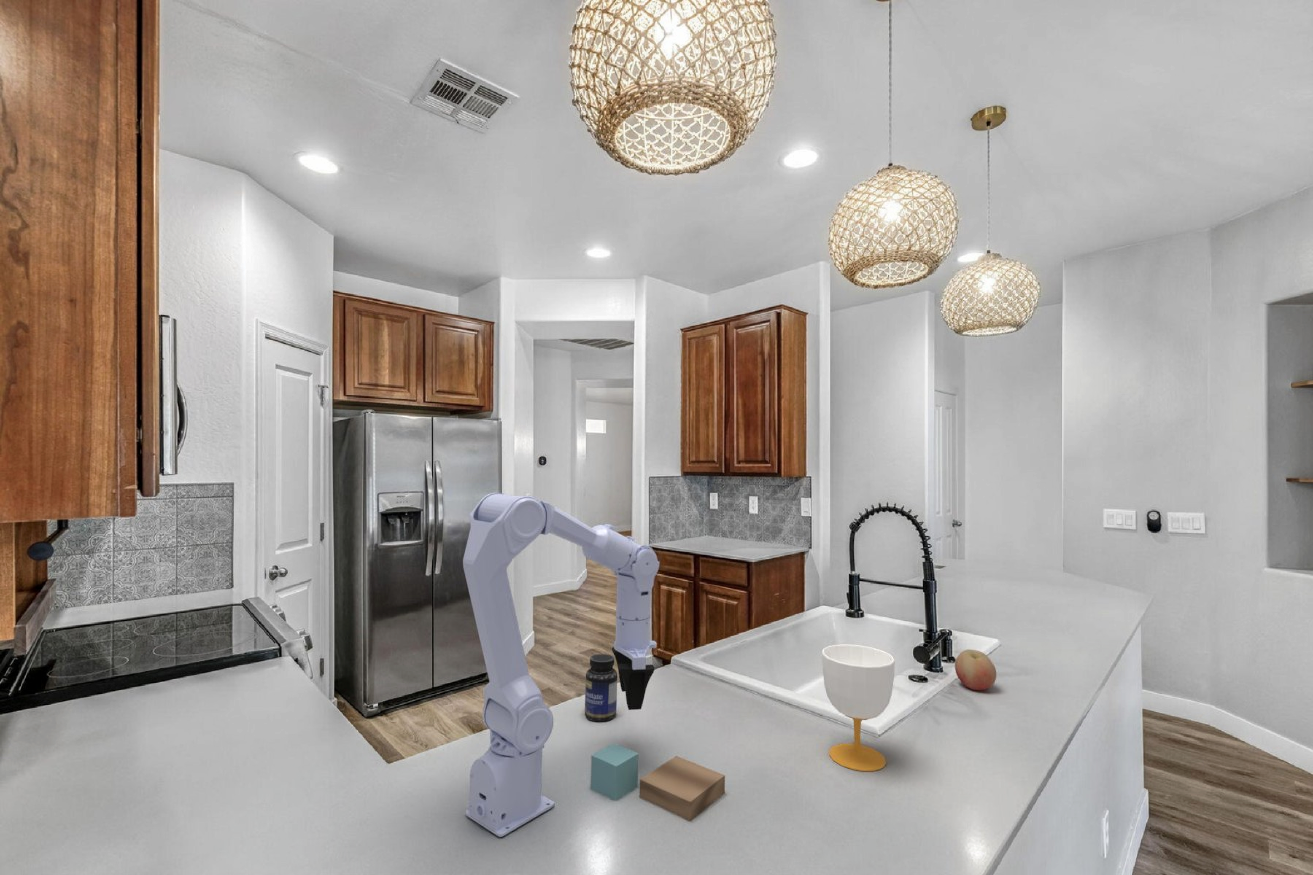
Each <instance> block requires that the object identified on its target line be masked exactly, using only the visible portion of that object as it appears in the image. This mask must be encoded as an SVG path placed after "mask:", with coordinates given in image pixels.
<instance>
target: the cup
mask: <svg viewBox="0 0 1313 875" xmlns="http://www.w3.org/2000/svg"><path fill="white" fill-rule="evenodd" d="M821 653H822V654H821V655H822V656H821V659H822V660H821V662H822V664H821V665H822V675H823V684H824V689H825V692H826V693H825V694H826V696H827V698H828V700H829V701H830V703H831V706H832V707H833V708H834V709H835V710H837V711H838V712H839V713H840V714H841V715H843V716H845V717H847V718H849V719H852V721H853V730H854V734H853V743H840V744H836V745H833V746H832V747H831V748H830V749H829V757H830V758H831V759H832V760H833V762H835V763H836V764H838V765H839V766H841V767H843V768H846V769H849V770H853V771H859V772H876V771H878V770H882V769H883V768H884V767H885V766H886V765H887V762H886V761H887V760H886V757H885V756H884V755H883V754H881V753H880V752H879V751H878V750H876V749H874V748H872V747H869V746H866V745H862V744H861V727H862V721H868V720H872V719H875V718H878V717H879V716H880V715H881V714H882V713H884V711H885V710H886V709H887V707H888V706H889V704H890V702H891V698H892V695H893V687H894V683H895V682H894V680H895V668H896V667H895V664H896V663H895V662H896V661H895V658H894V657H893V655H891V654H890V653H889V652H887V651H884V650H881V649H878V648H875V647H871V646H866V645H859V644H845V643H844V644H833V645H828V646H826V647H824V648H822V652H821Z"/></svg>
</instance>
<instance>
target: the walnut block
mask: <svg viewBox="0 0 1313 875" xmlns="http://www.w3.org/2000/svg"><path fill="white" fill-rule="evenodd" d="M725 787H726V776H725V774H723V773H721V772H719V771H718V772H717V771H715V770H712V769H711V768H708V767H705V766H703V765H700V764H697V763H695V762H693V761H690V760H687V759H685V758H683V757H680V756H677V755H675V756H674V757H672V758H670V759H669V760H667V761H666V762H665V763H663V764H661V765H660V766H658V767H656V768H655V769H654V770H652V771H650V772H649V773H647V774H645V775H644V776H643V777H641V778H640V779H639V796H638V798H639V799H642V800H644V801H647V802H649V803H651V804H653V805H655V806H657V807H658V808H661V809H663V810H665V811H667V812H669V813H671V814H674V815H675V816H677V817H680V818H682V819H685V820H687V821H689V822H691V821H693V820H694V819H695V818H697V817H698V816H699V815H700V814H701V813H702V812H703V811H705V810H707V808H708V807H709V806H711V805H713V804H714V803H715V802H716V801H717V800H718V799H719V798H721V797H722V796H724V794H725V792H726V791H725V789H726V788H725Z"/></svg>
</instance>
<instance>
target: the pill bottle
mask: <svg viewBox="0 0 1313 875" xmlns="http://www.w3.org/2000/svg"><path fill="white" fill-rule="evenodd" d="M614 666H615V656H613V655H611V654H608V653H600V654H599V653H598V654H594V655H592V656H590V658H589V667H590V668H589V669H588V670H586V673H585V686H584V687H585V689H584V690H585V693H584V695H585V696H584V716H585V718H587V720H590V721H592V722H593V721H594V722H608V721H610V720H612V719H614V718H615V717H616V716H617V701H618V672H617V671H618V670H616V669H615V668H614Z"/></svg>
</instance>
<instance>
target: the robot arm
mask: <svg viewBox="0 0 1313 875" xmlns="http://www.w3.org/2000/svg"><path fill="white" fill-rule="evenodd" d="M468 517H469V518H468V519H469V524H470V529H469V534H468V537H467V542H466V545H465V551H464V555H463V558H462V566H463V572H464V576H465V580H466V581H465V582H466V584H467V588H468V593H469V597H470V601H471V606H472V607H471V608H472V611H473V614H474V619H475V623H476V629H477V633H478V638H479V642H480V646H481V650H482V654H483V658H484V659H483V660H484V663H485V664H484V665H485V668H486V672H487V677H488V681H489V682H488V683H487V684H486V685H485V686H484V687H483V688H482V692H483V697H484V704H483V708H482V714H481V716H482V721H483V724H484V726H485V727H486V728H487V729H488V730H489V740H490V742H489V743H490V744H489V747H488V749H487V750H486V751H485V752H484V753H483V755H480V757H479V758H477V759H476V760H475V761H473V763H472V765H471V768H470V774H469V795H468V796H469V798H468V799H469V800H468V801H469V802H468V803H469V804H468V809H466V811H465V816H466V817H467V818H470V819H471V820H473V821H474V822H476V823H477V824H479V825H480V826H482V827H483V828H485V829H486V830H487V831H489V832H491V833H493V834H494V835H496V837H499V838H501V837H502V838H503V837H504V836H506V835H508V834H509V833H511V832H512V831H514V830H516V829H518V828H519V827H521V826H523V825H524V824H527V822H530V821H531V820H533V819H534V818H537V817H538V816H540V815H541V814H544V813H545V812H547V811H549V810H550V809H552V808H553V807H554V806H555V801H553V800H552V799H550V798H548V797H546V796H544V795H542V789H543V788H542V784H543V783H542V782H543V779H542V778H543V749H545V745H546V743H547V741H548V740H549V738H550V736H551V734H552V732H553V728H554V715H553V711H552V710H551V709H550V708H549V707H548V706H547V705H546V703H545V702H544V699H543V693H542V692H541V690H540V688H539V687H538V685H537V684H536V682H535V681H534V679H532V677H531V675H530V672H529V667H528V664H527V659H526V654H525V648H524V645H523V641H522V635H521V632H520V627H519V621H518V617H517V614H516V613H517V611H516V608H515V604H514V600H513V594H512V590H511V584H510V581H509V577H508V576H509V575H508V572H507V569H508V567H509V565H510V563H512V561H513V560H514V559H516V558H515V557H517V556H518V555H519V554H520V553H521V552H523V550H525V549H526V548H527V547H528V546H529V545H530V544H531V543H532V542H534V541H535V540H536V539H537V538H538V537H539V536H540V535H544V536H545V535H548V534H552V535H554V536H556V537H558V538H560V539H563V540H566V541H568V542H570V543H573V544H575V545H577V546H580V547H581V548H582V549H581V550H582V553H583V554H582V555H583V556H584V557H585V558H586V559H588V560H590V561H592V562H594V563H596V564H598V565H600V566H602V567H605V568H607V569H610V570H611V572H612V573H613V574H614V575H617V576H616V603H615V604H616V605H615V606H616V610H615V611H616V612H615V636H614V637H615V639H614V640H615V641H614V642H613V643H614V644H613V646H612V648H611V651H612V653H613V655H614V656H613V657H614V659H615V661H616V665H617V666H616V667H617V671H618V672H617V673H618V678H619V679H618V680H619V684H620V689H621V692H624V693H625V700H626V706H627V709H628V710H629V711H632V710H633V711H634V710H641V709H642V707H643V703H644V701H645V700H644V699H645V696H646V695H645V694H646V691H647V687H648V685H649V682H650V679H651V677H652V676H653V674H654V673H655V665H654V664H646V660H647V658H646V657H647V655H648V654H649V652H650V650H651V649H656V648H657V645H658V644H657V642H656V641H655V640H651V638H650V637H651V636H650V635H651V606H652V605H651V602H652V599H651V598H652V590H653V587H654V583H655V582H654V581H655V577H656V575H657V574H658V571H659V568H660V561H658V556H657V554H656V552H655V550H654V549H653V548H652V547H651V546H648V545H644V544H638V543H636V542H635V540H636V539H635V538H634V537H632V536H630V535H629V536H628V535H626V536H625V535H623V534H620V533H619V532H617V531H616V526H615V525H612V524H609V523H605V524H604V525H603V524H597V525H595V526H593V527H590V526H589V525H588V524H586V523H584V522H582V521H580V520H579V519H577V518H576V517H574V516H572V515H570V514H569V513H567V512H565V511H563V510H561V509H560V508H558V507H556V505H553V504H551V503H549V502H548V501H544V500H539V499H538V498H536V497H534V496H531V495H512V494H504V493H502V492H491V493H489V494H486V495H484V496H483V497H482V498H481V499H480V501H478V503H477V504H476V506H475V507H474V508H473V510H472V511H471V512H470V514H469V515H468Z"/></svg>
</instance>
